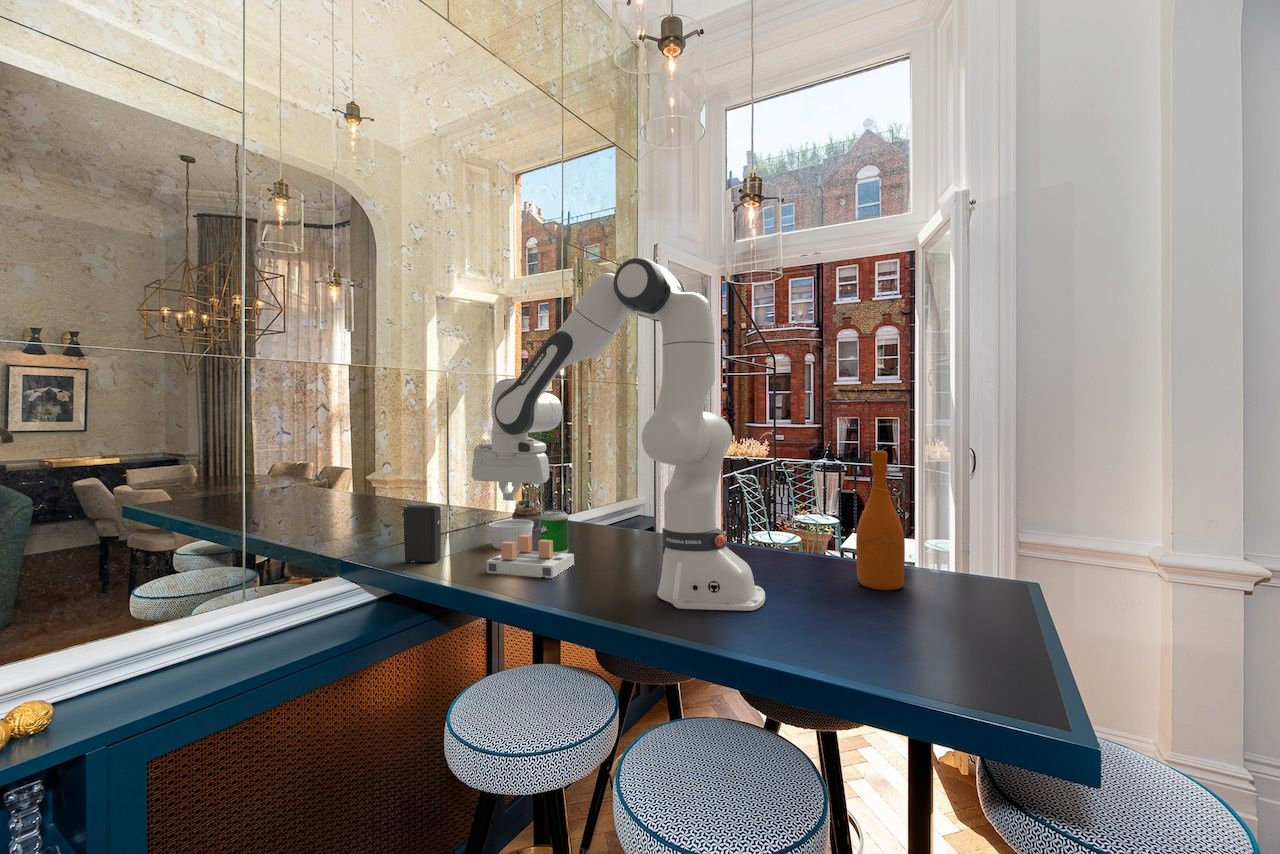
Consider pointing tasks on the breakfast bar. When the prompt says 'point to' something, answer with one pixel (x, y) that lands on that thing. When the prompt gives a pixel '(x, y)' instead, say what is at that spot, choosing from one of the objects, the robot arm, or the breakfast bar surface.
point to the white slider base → (531, 564)
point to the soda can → (555, 529)
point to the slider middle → (545, 548)
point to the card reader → (422, 533)
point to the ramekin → (509, 531)
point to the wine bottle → (880, 534)
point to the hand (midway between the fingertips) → (509, 500)
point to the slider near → (508, 550)
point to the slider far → (524, 543)
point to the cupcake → (527, 513)
